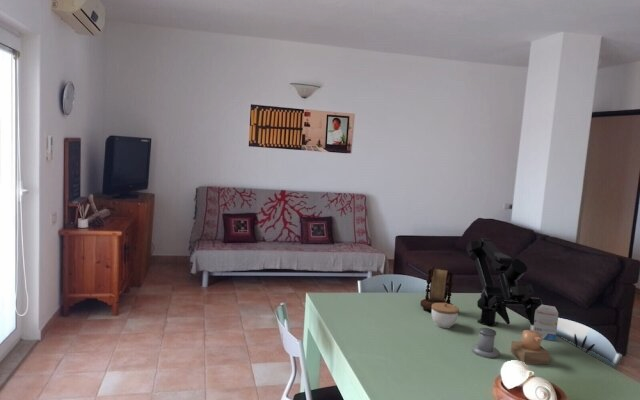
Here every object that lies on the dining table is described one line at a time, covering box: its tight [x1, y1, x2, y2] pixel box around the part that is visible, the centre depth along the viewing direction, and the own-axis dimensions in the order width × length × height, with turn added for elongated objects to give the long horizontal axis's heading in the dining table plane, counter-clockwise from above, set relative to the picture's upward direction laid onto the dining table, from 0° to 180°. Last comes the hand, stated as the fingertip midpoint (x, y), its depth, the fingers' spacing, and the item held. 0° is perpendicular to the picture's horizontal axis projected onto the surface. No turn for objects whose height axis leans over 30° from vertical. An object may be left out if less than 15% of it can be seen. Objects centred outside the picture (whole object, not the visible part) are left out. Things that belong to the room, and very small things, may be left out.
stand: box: [510, 340, 551, 365], centre depth 160 cm, size 9×9×4 cm
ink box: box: [529, 304, 559, 342], centre depth 183 cm, size 9×8×12 cm
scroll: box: [420, 264, 454, 311], centre depth 204 cm, size 15×15×20 cm
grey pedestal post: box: [471, 327, 500, 359], centre depth 162 cm, size 9×9×8 cm
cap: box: [520, 329, 543, 351], centre depth 159 cm, size 8×6×5 cm
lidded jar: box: [430, 303, 460, 329], centre depth 186 cm, size 11×11×9 cm
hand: (520, 324), depth 167 cm, fingers open, 9 cm apart
